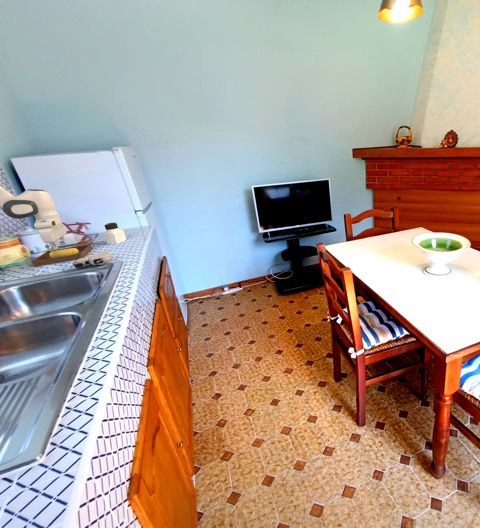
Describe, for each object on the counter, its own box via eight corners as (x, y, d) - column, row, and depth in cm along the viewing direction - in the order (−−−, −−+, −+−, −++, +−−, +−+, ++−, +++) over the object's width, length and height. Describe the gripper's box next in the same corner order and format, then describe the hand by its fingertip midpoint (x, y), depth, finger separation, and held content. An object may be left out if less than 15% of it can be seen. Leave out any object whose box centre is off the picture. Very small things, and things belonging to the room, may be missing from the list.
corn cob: (49, 260, 156) (46, 253, 154) (52, 257, 159) (49, 250, 157) (78, 255, 161) (75, 248, 159) (80, 253, 164) (77, 246, 162)
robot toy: (72, 274, 139) (110, 264, 144) (67, 265, 137) (106, 256, 143) (79, 265, 149) (115, 257, 154) (75, 257, 147) (111, 249, 153)
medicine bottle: (127, 240, 185) (120, 221, 180) (117, 244, 179) (110, 224, 174) (117, 240, 186) (110, 221, 181) (107, 244, 180) (99, 225, 175)
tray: (34, 266, 148) (31, 261, 147) (49, 255, 164) (47, 250, 163) (82, 259, 156) (80, 253, 155) (92, 249, 172) (90, 244, 171)
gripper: (49, 218, 160) (59, 242, 165) (32, 226, 143) (44, 253, 148) (64, 216, 163) (73, 241, 168) (49, 224, 146) (60, 251, 151)
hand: (59, 246), depth 158 cm, fingers open, 8 cm apart
